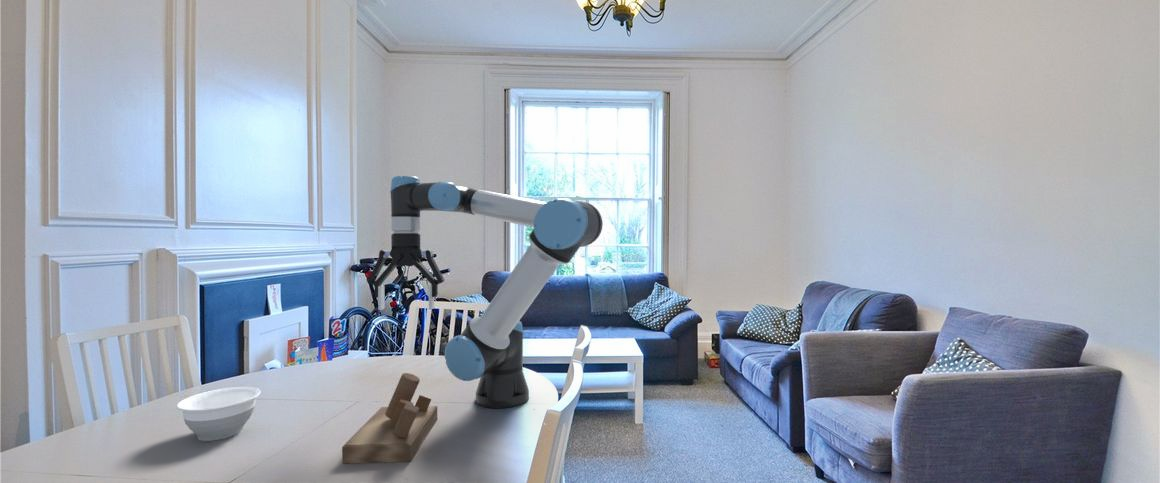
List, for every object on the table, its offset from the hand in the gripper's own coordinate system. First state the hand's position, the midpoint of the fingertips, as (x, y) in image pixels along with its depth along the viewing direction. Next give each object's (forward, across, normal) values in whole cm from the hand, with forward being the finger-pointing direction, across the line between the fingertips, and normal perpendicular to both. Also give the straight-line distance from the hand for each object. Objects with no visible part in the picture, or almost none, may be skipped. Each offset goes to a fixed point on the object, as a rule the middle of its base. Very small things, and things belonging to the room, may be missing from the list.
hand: (406, 309), depth 129 cm
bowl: (+27, +39, +16) cm, 50 cm away
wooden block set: (+23, -6, +22) cm, 32 cm away
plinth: (+27, -4, +22) cm, 35 cm away
